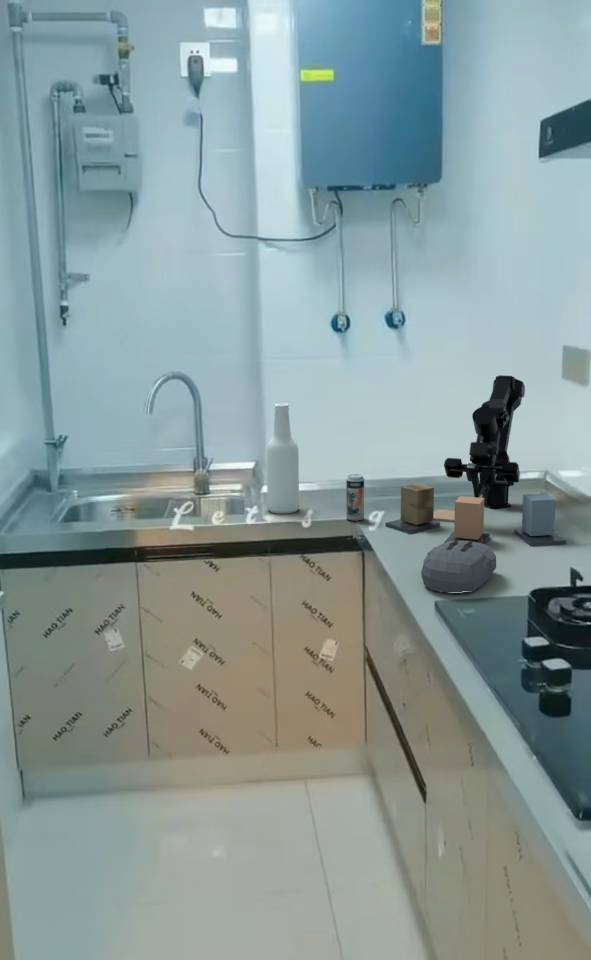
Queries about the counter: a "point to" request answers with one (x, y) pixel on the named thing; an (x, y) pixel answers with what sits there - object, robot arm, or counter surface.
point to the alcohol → (282, 465)
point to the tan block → (469, 517)
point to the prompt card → (444, 515)
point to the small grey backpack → (458, 566)
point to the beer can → (355, 497)
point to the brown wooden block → (417, 503)
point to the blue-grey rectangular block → (538, 514)
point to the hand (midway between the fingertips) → (476, 497)
